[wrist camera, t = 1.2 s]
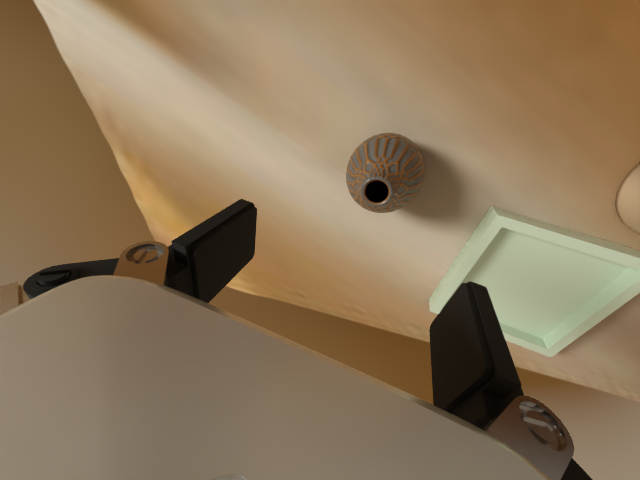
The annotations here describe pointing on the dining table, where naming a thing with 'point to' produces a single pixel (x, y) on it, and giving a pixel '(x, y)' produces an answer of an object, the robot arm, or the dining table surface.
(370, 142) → the vase
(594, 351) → the dining table surface
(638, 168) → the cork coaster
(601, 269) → the tray
